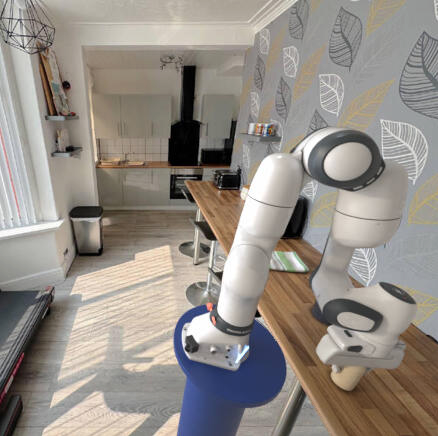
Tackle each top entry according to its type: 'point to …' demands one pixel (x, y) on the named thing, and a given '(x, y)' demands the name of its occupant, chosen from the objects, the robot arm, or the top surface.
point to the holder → (319, 314)
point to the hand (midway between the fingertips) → (347, 372)
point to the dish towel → (287, 262)
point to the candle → (348, 376)
